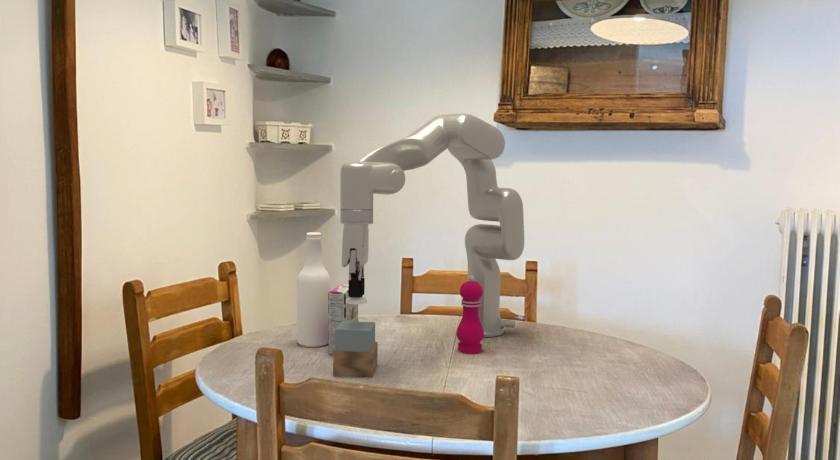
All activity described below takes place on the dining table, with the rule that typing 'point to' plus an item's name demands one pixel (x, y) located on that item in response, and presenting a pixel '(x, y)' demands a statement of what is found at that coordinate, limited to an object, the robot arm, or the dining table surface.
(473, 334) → the pepper mill
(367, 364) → the walnut base block
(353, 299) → the chess piece
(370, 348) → the slate top block
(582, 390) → the dining table surface
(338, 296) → the candy bar box
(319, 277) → the white bottle
